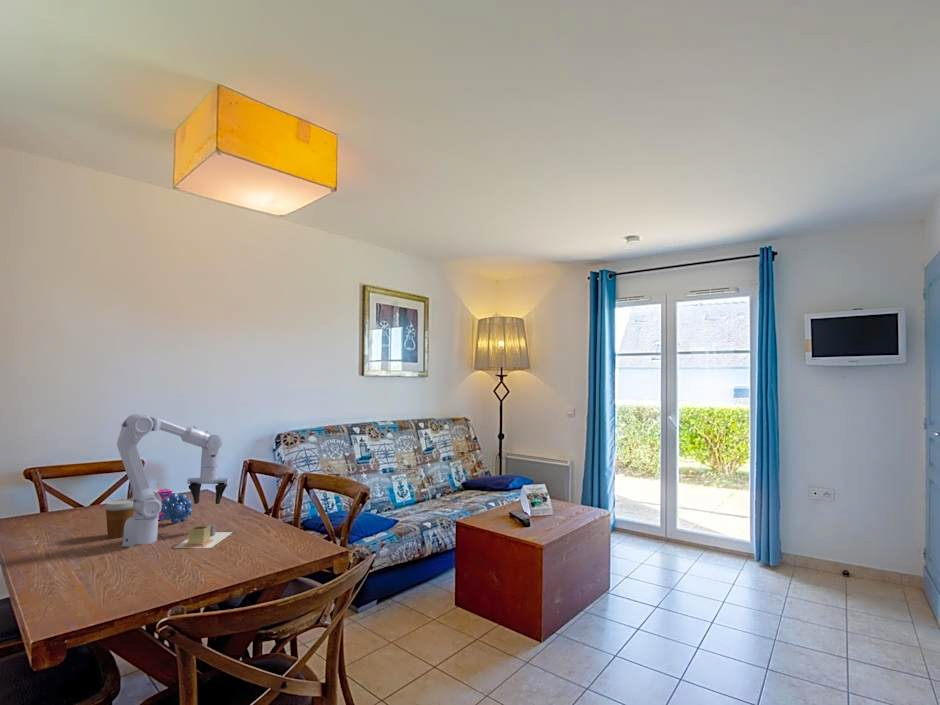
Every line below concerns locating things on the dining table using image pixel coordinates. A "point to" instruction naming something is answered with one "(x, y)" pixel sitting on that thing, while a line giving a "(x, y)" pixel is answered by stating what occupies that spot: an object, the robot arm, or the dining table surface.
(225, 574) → the dining table surface
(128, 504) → the disposable coffee cup
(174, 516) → the grapes
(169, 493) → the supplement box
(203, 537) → the sleeve
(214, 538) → the board
